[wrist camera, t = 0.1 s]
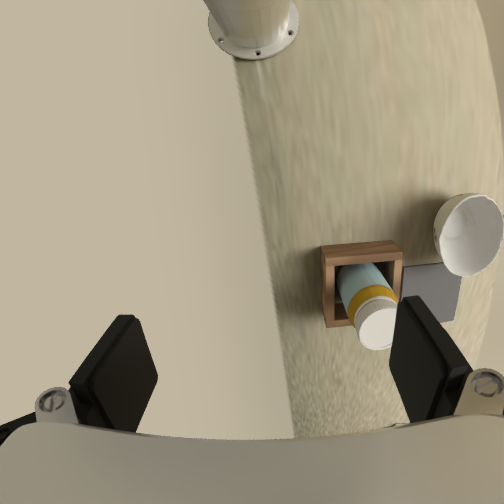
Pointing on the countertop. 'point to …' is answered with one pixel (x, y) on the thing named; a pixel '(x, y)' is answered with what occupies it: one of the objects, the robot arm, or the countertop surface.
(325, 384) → the countertop surface
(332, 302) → the brown open frame
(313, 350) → the countertop surface
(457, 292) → the mat
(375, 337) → the bottle
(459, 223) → the teacup
